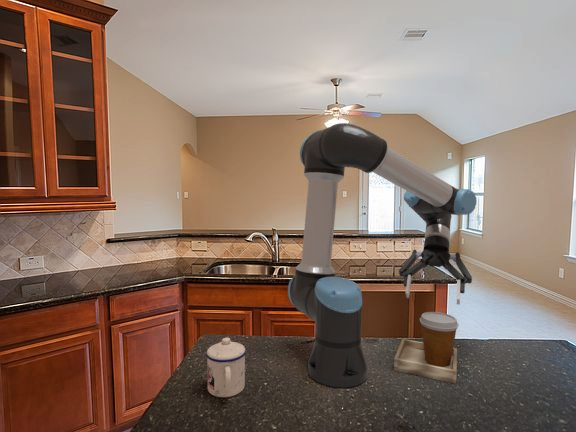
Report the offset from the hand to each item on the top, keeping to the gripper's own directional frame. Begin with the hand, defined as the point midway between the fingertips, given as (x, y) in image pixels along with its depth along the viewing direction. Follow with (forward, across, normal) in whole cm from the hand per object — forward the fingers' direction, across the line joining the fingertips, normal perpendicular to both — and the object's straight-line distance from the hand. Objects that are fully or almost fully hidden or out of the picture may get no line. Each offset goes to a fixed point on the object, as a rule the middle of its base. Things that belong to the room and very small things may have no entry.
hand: (431, 298), depth 98 cm
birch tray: (+17, 0, -5) cm, 18 cm away
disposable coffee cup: (+16, -2, -5) cm, 17 cm away
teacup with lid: (+42, +40, +20) cm, 62 cm away
